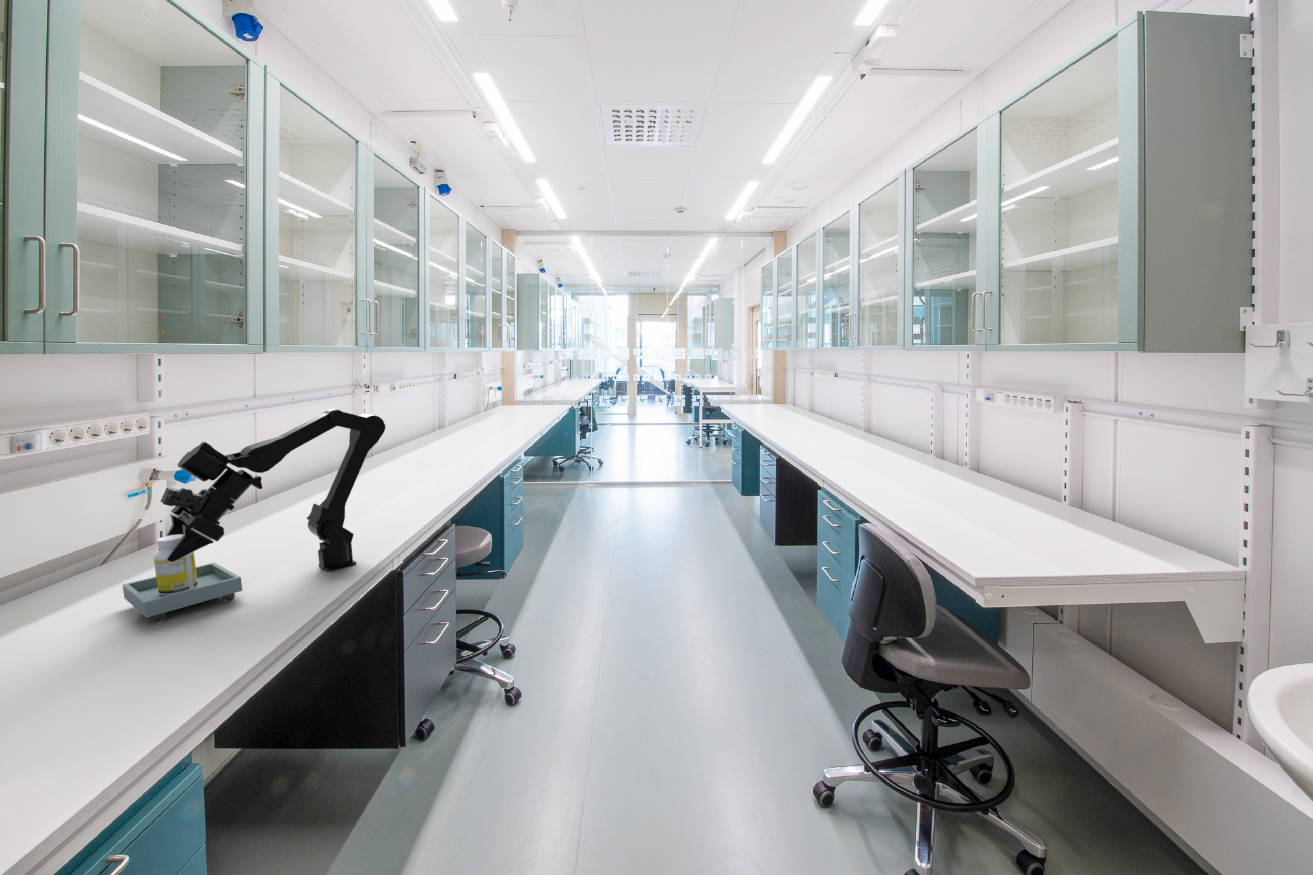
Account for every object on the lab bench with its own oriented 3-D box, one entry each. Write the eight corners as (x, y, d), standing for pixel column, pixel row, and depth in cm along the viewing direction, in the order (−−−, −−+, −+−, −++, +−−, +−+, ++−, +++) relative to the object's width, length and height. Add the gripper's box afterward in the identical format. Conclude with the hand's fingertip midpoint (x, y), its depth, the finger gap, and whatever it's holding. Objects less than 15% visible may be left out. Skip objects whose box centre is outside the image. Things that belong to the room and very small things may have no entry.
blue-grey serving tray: (216, 583, 136) (214, 562, 135) (243, 599, 126) (240, 577, 126) (125, 607, 123) (122, 584, 122) (147, 627, 114) (144, 602, 113)
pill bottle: (188, 583, 128) (182, 531, 126) (204, 588, 125) (198, 535, 123) (152, 593, 122) (145, 539, 121) (168, 599, 119) (160, 543, 118)
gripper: (178, 467, 129) (117, 527, 123) (197, 477, 117) (131, 545, 110) (225, 495, 136) (170, 553, 129) (248, 508, 124) (189, 573, 117)
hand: (165, 555), depth 121 cm, fingers open, 9 cm apart
